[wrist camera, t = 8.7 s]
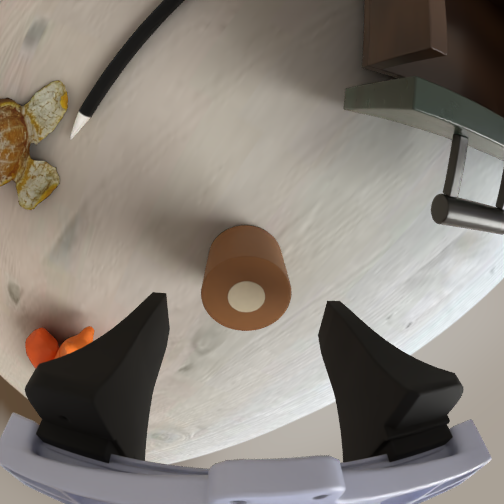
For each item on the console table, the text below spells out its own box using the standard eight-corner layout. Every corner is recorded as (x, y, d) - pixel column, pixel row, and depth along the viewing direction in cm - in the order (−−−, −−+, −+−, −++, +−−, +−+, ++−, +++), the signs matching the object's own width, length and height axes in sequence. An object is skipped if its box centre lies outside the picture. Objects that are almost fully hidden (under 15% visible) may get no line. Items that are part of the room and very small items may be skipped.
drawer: (491, 216, 16) (553, 257, 10) (332, 187, 15) (389, 237, 9) (505, 15, 9) (566, 10, 3) (349, -66, 8) (393, -120, 2)
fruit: (56, 210, 16) (24, 232, 13) (-19, 189, 14) (-50, 205, 11) (75, 81, 12) (40, 78, 9) (-7, 81, 11) (-42, 82, 8)
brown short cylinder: (285, 227, 17) (298, 259, 13) (276, 291, 19) (284, 332, 15) (209, 222, 17) (200, 254, 13) (208, 288, 19) (201, 329, 15)
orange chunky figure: (57, 433, 19) (94, 390, 15) (6, 372, 18) (23, 303, 15) (85, 405, 23) (132, 353, 20) (38, 351, 23) (70, 281, 20)
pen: (292, -77, 8) (295, -86, 7) (79, 142, 14) (69, 144, 13) (280, -83, 8) (283, -92, 7) (69, 134, 14) (59, 136, 13)
